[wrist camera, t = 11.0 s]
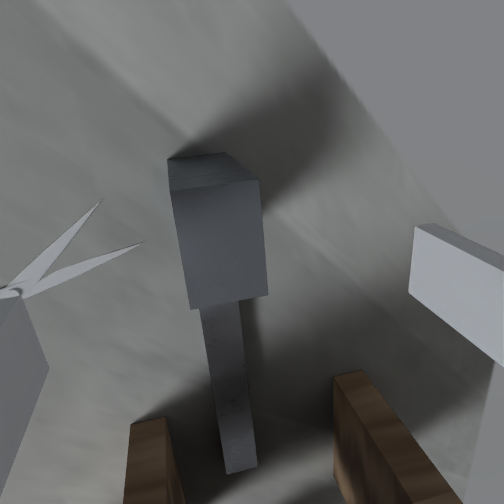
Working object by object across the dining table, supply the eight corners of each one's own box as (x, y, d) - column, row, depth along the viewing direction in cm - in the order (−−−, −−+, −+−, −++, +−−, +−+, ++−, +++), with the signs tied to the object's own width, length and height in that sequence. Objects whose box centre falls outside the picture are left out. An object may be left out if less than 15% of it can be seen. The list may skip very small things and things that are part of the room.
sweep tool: (167, 159, 25) (169, 191, 16) (225, 152, 26) (259, 179, 17) (218, 459, 36) (237, 577, 27) (258, 449, 37) (289, 561, 28)
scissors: (-183, 332, 24) (67, 157, 23) (-173, 326, 25) (70, 155, 24) (-43, 422, 29) (170, 277, 28) (-38, 414, 29) (170, 272, 29)
